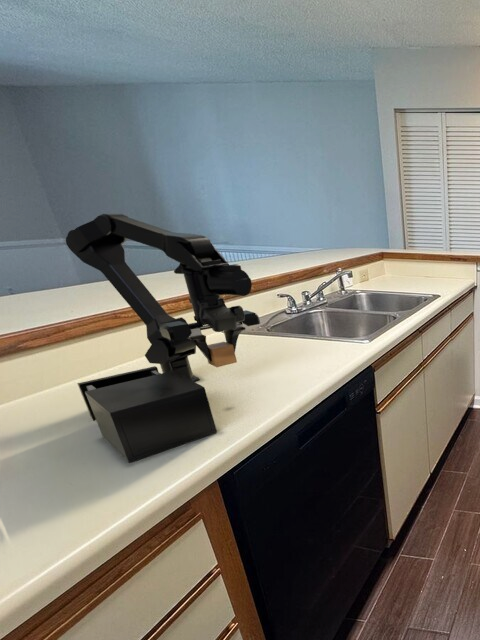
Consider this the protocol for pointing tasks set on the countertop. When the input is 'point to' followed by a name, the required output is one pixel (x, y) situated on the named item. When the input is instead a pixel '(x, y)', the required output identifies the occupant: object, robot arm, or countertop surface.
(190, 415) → the black slanted wedge box
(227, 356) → the block
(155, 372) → the rack
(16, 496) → the countertop surface
